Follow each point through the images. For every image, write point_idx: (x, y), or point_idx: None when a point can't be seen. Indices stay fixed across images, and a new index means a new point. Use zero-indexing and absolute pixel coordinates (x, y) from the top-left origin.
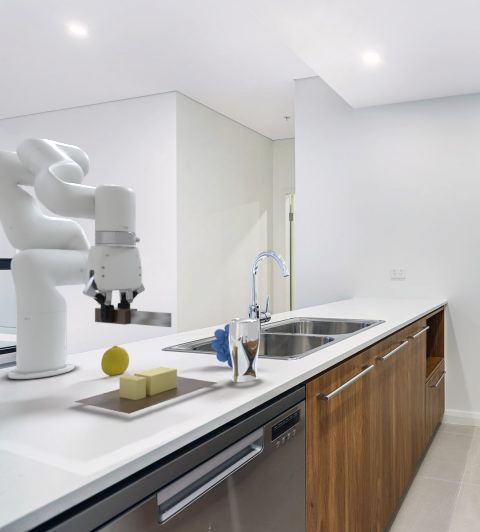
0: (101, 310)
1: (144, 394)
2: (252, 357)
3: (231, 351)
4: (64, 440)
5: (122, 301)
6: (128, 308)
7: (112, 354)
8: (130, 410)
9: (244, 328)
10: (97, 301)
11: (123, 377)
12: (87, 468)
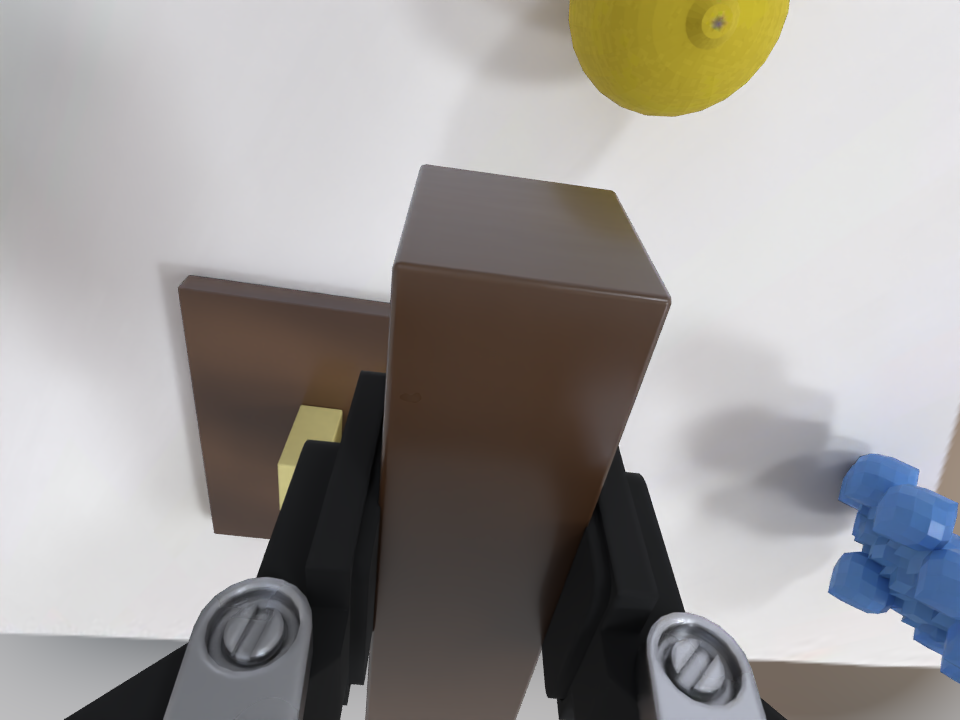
0: (277, 534)
1: None
2: None
3: None
4: (47, 482)
5: (593, 692)
6: (513, 680)
7: (612, 70)
8: (230, 521)
9: None
10: (151, 678)
11: (284, 478)
12: (33, 606)
